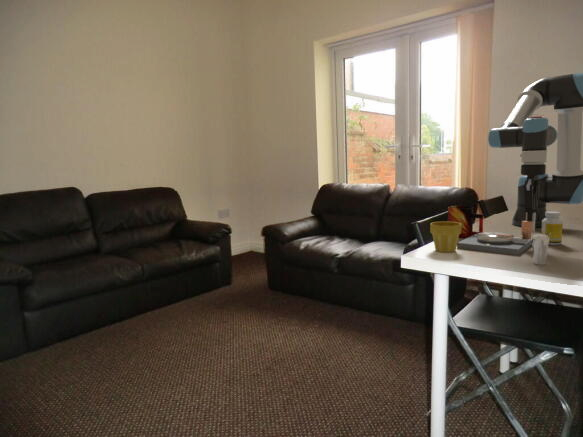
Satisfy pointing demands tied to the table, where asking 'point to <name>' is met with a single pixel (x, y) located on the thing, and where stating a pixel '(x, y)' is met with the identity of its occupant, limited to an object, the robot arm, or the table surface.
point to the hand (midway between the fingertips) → (529, 230)
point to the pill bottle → (552, 227)
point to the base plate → (493, 246)
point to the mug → (465, 219)
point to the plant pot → (445, 235)
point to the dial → (506, 235)
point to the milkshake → (540, 248)
